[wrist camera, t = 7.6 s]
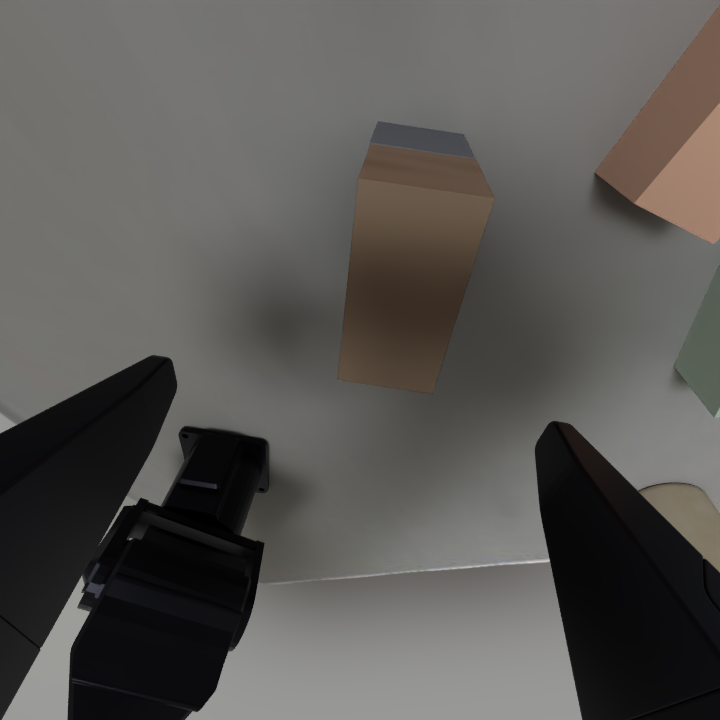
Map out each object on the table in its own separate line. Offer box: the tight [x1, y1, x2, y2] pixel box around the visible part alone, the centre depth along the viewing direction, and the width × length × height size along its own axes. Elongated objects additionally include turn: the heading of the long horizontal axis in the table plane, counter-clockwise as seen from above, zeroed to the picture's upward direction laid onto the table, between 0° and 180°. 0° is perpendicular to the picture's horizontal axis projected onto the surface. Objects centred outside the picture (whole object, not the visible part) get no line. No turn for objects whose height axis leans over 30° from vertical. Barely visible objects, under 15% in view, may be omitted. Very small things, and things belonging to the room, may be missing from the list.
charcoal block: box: [370, 121, 475, 159], centre depth 17 cm, size 7×4×4 cm, turn 173°
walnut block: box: [337, 144, 495, 394], centre depth 14 cm, size 7×4×4 cm, turn 174°
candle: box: [638, 483, 720, 572], centre depth 26 cm, size 6×6×10 cm
